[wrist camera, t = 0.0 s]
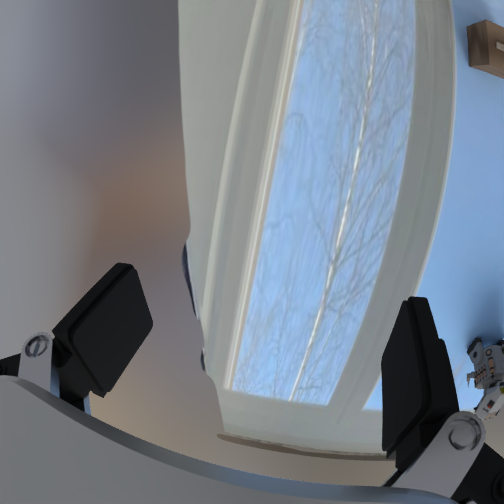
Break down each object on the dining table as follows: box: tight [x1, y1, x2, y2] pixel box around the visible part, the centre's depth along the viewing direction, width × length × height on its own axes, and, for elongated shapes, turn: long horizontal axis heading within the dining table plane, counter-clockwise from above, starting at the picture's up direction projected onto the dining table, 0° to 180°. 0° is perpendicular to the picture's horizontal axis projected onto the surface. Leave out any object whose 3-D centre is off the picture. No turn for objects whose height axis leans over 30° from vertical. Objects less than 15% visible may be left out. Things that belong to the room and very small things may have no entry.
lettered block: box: [467, 20, 504, 79], centre depth 19 cm, size 6×6×6 cm
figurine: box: [467, 337, 504, 420], centre depth 39 cm, size 9×12×15 cm
